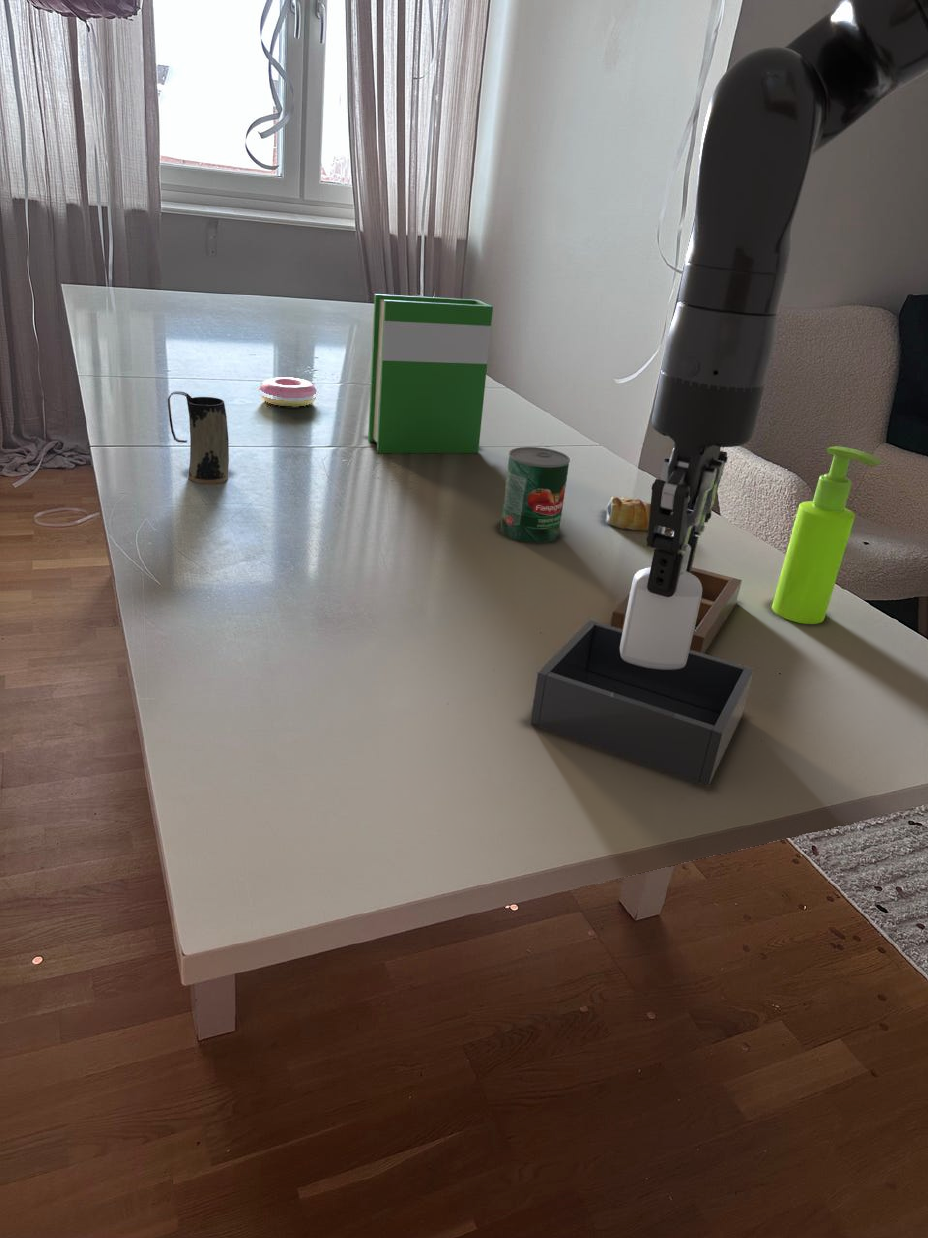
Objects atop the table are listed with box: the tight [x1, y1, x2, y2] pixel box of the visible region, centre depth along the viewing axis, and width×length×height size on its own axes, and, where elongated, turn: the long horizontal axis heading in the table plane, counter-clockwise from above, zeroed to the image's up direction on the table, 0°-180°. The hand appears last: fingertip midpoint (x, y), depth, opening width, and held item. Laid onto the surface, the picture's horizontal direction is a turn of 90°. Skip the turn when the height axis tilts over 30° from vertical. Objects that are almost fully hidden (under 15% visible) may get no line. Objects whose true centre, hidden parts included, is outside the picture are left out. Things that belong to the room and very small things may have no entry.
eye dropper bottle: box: [620, 532, 702, 670], centre depth 74 cm, size 4×6×12 cm
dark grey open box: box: [529, 619, 755, 788], centre depth 78 cm, size 16×13×6 cm
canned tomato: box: [500, 446, 571, 544], centre depth 117 cm, size 8×8×11 cm
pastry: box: [605, 496, 671, 531], centre depth 126 cm, size 9×7×4 cm
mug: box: [167, 390, 230, 485], centre depth 126 cm, size 8×6×12 cm
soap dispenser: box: [771, 445, 884, 625], centre depth 99 cm, size 6×7×20 cm
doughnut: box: [259, 376, 318, 408], centre depth 172 cm, size 11×11×4 cm
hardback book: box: [367, 293, 494, 454], centre depth 149 cm, size 18×7×24 cm, turn 108°
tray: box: [609, 566, 742, 654], centre depth 99 cm, size 10×18×4 cm, turn 152°
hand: (668, 583), depth 73 cm, fingers closed on eye dropper bottle, 4 cm apart
